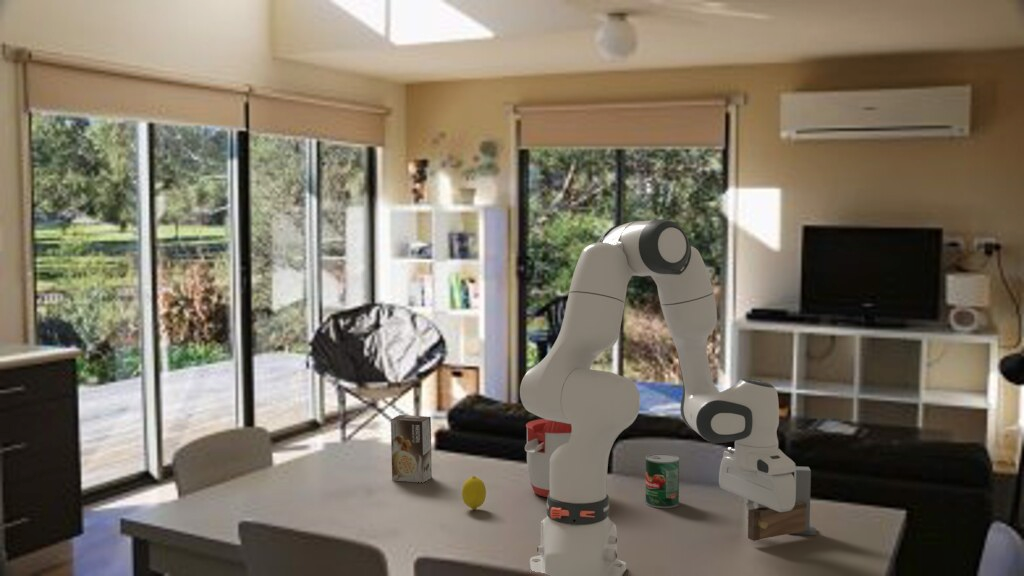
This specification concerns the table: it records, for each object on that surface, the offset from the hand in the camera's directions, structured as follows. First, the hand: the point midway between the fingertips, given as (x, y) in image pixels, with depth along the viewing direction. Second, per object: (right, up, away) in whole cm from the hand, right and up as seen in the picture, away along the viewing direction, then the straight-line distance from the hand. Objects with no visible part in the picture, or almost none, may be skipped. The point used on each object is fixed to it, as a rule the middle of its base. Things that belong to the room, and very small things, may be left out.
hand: (754, 520), depth 203 cm
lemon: (-60, -3, +21) cm, 63 cm away
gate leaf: (+5, -3, -2) cm, 6 cm away
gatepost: (+11, -4, +5) cm, 13 cm away
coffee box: (-77, -1, +47) cm, 90 cm away
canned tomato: (-15, -2, +26) cm, 30 cm away
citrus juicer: (-40, -2, +34) cm, 53 cm away
